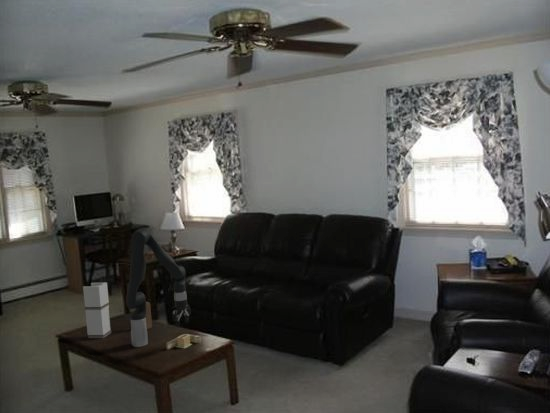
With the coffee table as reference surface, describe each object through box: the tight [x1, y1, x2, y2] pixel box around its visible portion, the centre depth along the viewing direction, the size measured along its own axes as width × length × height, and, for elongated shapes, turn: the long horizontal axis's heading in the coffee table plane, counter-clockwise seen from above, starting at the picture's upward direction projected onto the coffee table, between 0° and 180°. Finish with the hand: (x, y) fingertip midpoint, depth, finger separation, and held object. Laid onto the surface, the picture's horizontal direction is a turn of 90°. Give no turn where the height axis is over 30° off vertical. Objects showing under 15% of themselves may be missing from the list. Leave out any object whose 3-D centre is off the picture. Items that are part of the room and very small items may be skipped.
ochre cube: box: [176, 334, 191, 347], centre depth 303 cm, size 6×6×6 cm
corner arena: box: [165, 333, 202, 350], centre depth 303 cm, size 13×17×4 cm
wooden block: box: [146, 301, 153, 330], centre depth 340 cm, size 9×4×18 cm, turn 131°
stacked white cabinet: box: [82, 282, 112, 339], centre depth 332 cm, size 11×11×35 cm
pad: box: [174, 343, 193, 349], centre depth 303 cm, size 8×8×1 cm
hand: (182, 324), depth 303 cm, fingers open, 8 cm apart
